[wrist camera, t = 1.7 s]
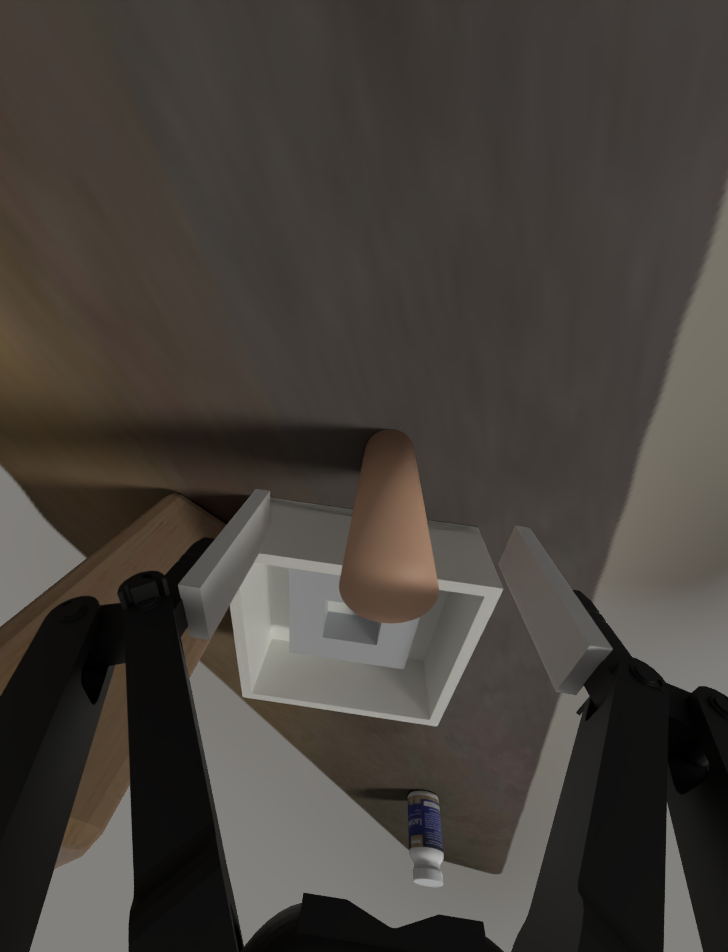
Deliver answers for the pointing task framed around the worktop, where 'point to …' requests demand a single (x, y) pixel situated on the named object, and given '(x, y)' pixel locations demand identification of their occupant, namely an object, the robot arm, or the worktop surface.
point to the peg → (389, 537)
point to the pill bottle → (425, 838)
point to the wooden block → (107, 767)
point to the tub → (355, 622)
